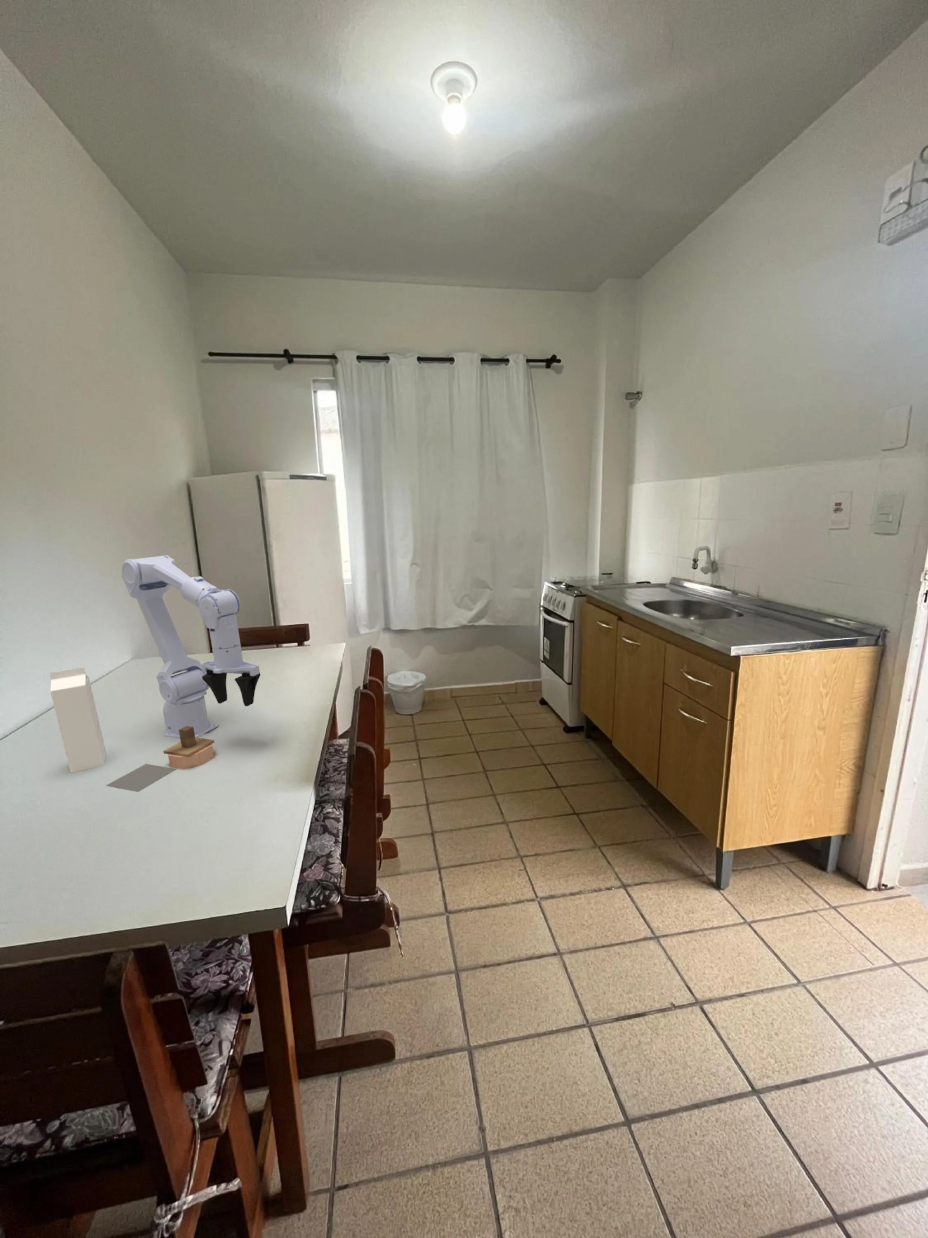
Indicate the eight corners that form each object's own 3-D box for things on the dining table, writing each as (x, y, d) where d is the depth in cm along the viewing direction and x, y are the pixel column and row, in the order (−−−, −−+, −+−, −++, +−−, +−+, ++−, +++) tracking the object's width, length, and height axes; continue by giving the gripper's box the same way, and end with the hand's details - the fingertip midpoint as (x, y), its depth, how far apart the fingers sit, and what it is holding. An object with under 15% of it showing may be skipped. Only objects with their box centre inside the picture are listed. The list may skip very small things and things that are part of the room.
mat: (105, 786, 103) (105, 785, 103) (146, 765, 111) (145, 763, 111) (138, 793, 100) (138, 791, 100) (177, 770, 108) (177, 769, 108)
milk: (104, 766, 112) (82, 670, 107) (70, 774, 109) (46, 676, 104) (107, 755, 117) (86, 663, 112) (74, 762, 114) (52, 669, 109)
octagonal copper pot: (162, 766, 110) (159, 754, 109) (193, 749, 118) (191, 737, 117) (191, 771, 107) (189, 758, 107) (222, 753, 115) (220, 740, 114)
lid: (163, 753, 110) (159, 733, 109) (190, 739, 116) (187, 720, 115) (188, 757, 107) (184, 737, 106) (214, 742, 114) (211, 723, 113)
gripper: (186, 649, 112) (197, 707, 115) (239, 652, 107) (248, 713, 110) (211, 640, 118) (221, 695, 121) (262, 643, 113) (270, 700, 116)
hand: (235, 703), depth 116 cm, fingers open, 7 cm apart
